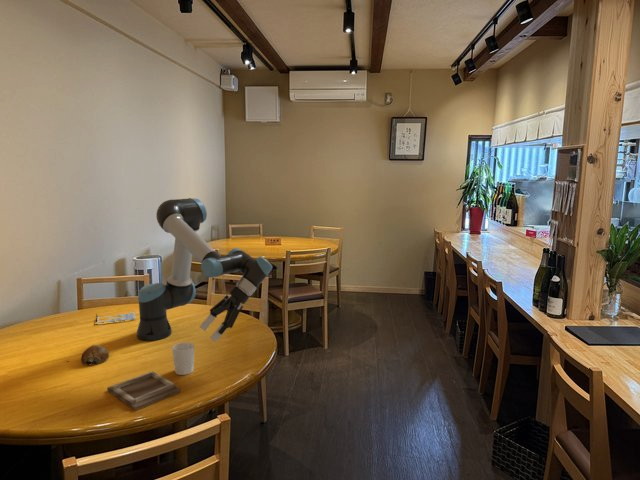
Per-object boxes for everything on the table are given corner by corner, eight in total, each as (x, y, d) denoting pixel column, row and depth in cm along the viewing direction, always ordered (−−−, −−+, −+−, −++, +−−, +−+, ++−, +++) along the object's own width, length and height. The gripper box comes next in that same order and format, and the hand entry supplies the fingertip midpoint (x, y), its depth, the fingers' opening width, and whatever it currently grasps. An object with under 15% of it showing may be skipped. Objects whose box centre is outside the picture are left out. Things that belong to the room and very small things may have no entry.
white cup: (189, 376, 164) (187, 351, 163) (169, 375, 166) (168, 349, 164) (198, 367, 172) (197, 343, 170) (180, 366, 173) (179, 341, 172)
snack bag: (94, 326, 219) (94, 322, 218) (97, 314, 237) (97, 310, 237) (136, 321, 226) (135, 317, 225) (135, 310, 244) (135, 306, 244)
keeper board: (107, 390, 154) (107, 384, 153) (150, 374, 166) (150, 368, 165) (135, 410, 141) (135, 403, 141) (180, 392, 153) (179, 385, 153)
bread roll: (111, 367, 180) (116, 347, 182) (92, 366, 171) (98, 345, 173) (93, 364, 184) (98, 344, 186) (73, 363, 174) (78, 342, 176)
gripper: (261, 304, 168) (225, 350, 162) (237, 289, 189) (204, 329, 183) (248, 292, 164) (210, 339, 159) (225, 279, 185) (191, 319, 180)
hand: (207, 334), depth 171 cm, fingers open, 13 cm apart
